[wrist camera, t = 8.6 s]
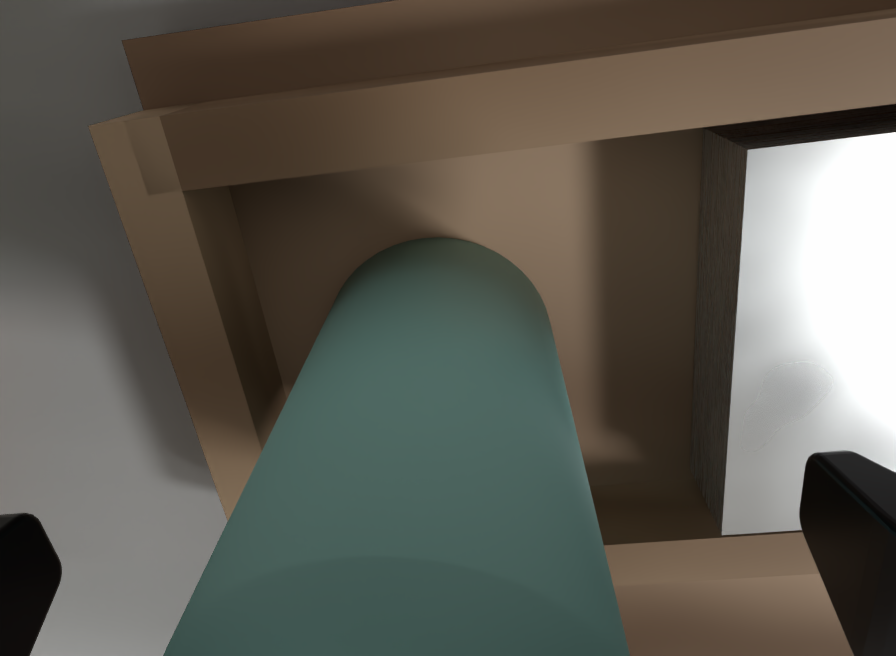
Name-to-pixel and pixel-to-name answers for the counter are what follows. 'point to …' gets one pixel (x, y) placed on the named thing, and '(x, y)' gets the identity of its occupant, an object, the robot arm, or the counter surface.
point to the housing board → (491, 232)
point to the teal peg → (417, 484)
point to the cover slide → (793, 308)
